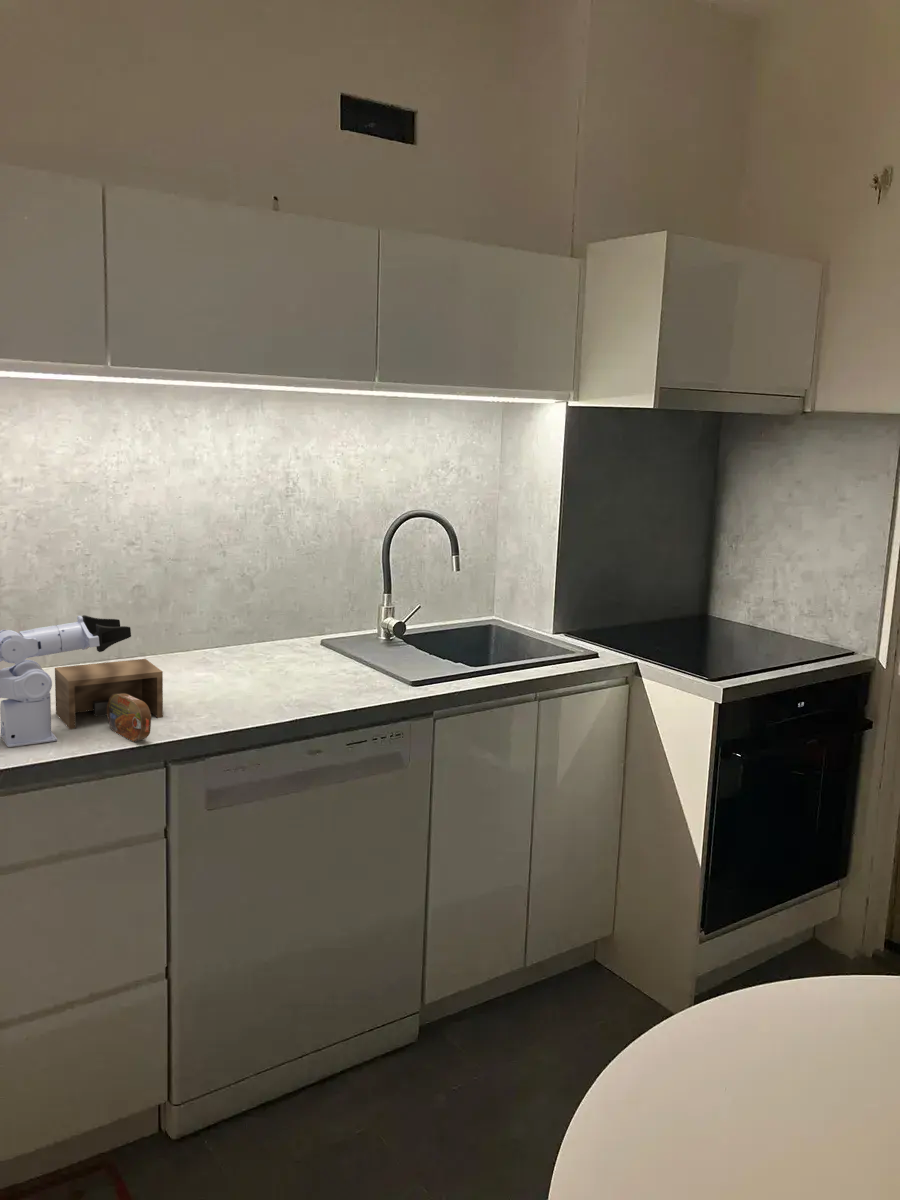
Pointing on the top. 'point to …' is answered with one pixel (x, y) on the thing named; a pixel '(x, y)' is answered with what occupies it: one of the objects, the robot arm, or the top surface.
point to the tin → (129, 716)
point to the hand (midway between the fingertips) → (124, 627)
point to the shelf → (106, 687)
